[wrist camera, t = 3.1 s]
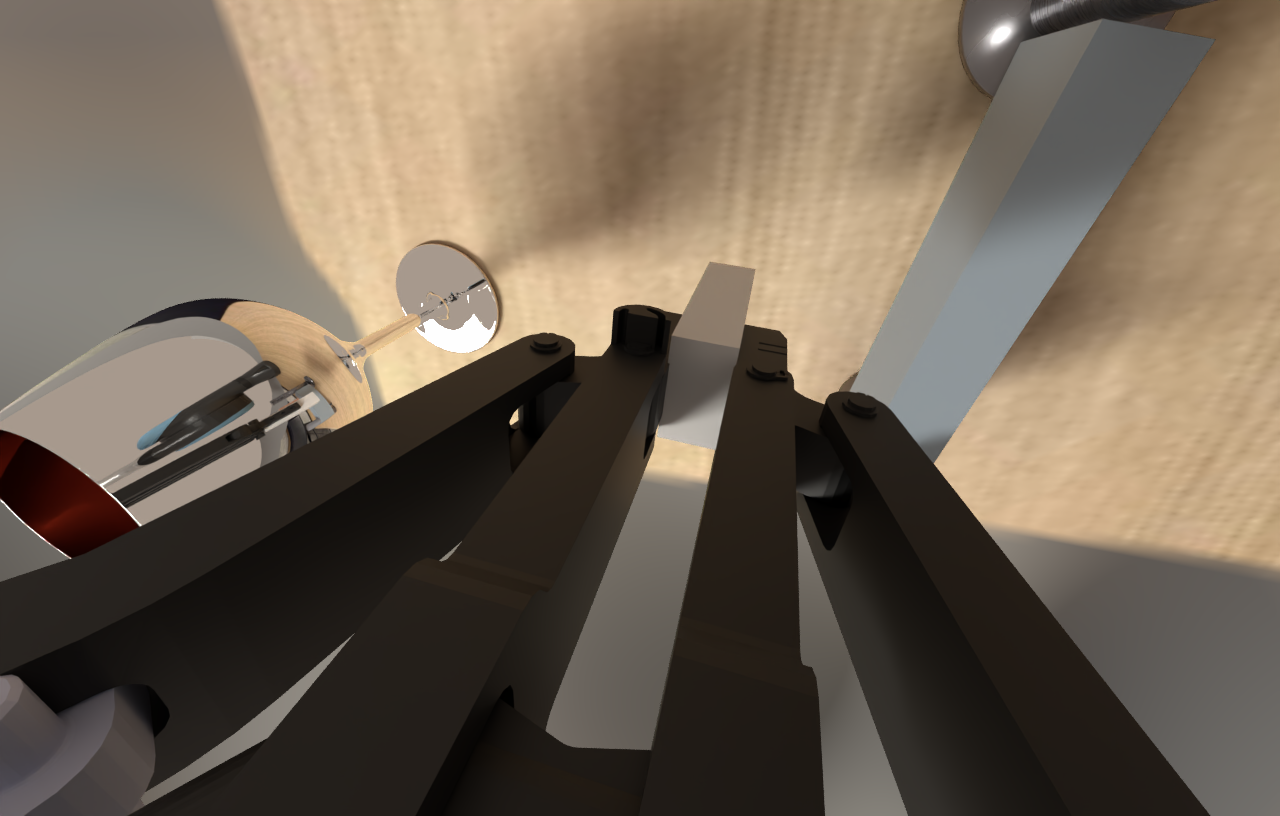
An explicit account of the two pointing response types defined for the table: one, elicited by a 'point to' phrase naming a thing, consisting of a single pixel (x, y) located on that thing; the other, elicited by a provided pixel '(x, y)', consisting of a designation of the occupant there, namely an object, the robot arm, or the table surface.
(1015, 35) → the hinge post
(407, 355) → the table surface
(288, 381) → the wineglass
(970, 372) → the gate
